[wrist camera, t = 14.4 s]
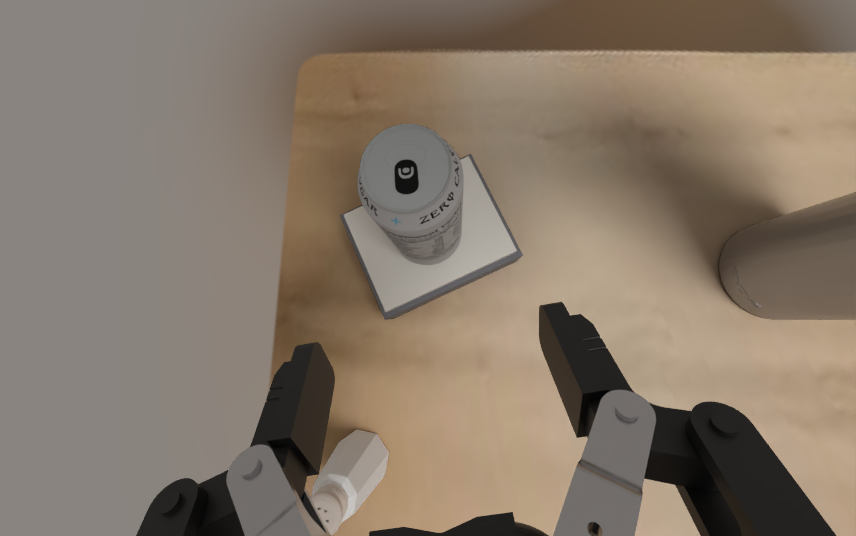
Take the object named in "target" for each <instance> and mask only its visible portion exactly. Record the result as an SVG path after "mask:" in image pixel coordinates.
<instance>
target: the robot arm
mask: <svg viewBox="0 0 856 536" xmlns="http://www.w3.org/2000/svg"><path fill="white" fill-rule="evenodd" d="M719 272H720V276H721V280H722V283H723V285H724V287H725V289H726V291H727V293H728V294H729V295H730V297H731V298H732V299H733V301H735V302H736V303H737V304H738V305H739V306H740V307H741V308H743V309H744V310H746V311H748V312H749V313H751V314H754V315H756V316H759V317H762V318H767V319H773V320H856V192H854V193H851V194H848V195H845V196H842V197H839V198H836V199H833V200H830V201H826V202H823V203H820V204H817V205H814V206H811V207H808V208H805V209H802V210H798V211H795V212H792V213H789V214H786V215H782V216H779V217H776V218H773V219H770V220H767V221H764V222H761V223H758V224H754V225H751V226H749V227H746V228H744V229H742V230H740V231H738V232H737V233H736V234H734V235H733V236H732V237H731V238H730V239H729V240H728V242H727V243H726V244H725V246H724V248H723V250H722V252H721V257H720V261H719ZM539 339H540V344H541V348H542V351H543V354H544V356H545V359H546V361H547V364H548V366H549V369H550V371H551V374H552V376H553V379H554V381H555V384H556V386H557V389H558V392H559V394H560V397H561V399H562V402H563V404H564V407H565V409H566V412H567V414H568V417H569V419H570V422H571V424H572V427H573V429H574V432H575V434H576V437H577V438H578V437H585V436H587V437H588V440H587V443H586V446H585V449H584V452H583V455H582V458H581V460H580V461H579V462H578V465H577V467H576V470H575V472H574V475H573V478H572V481H571V484H570V487H569V490H568V493H567V496H566V499H565V502H564V505H563V508H562V511H561V514H560V517H559V520H558V523H557V526H556V529H555V532H554V535H553V536H634V535H635V530H636V525H637V520H638V516H639V511H640V506H641V500H642V486H643V481H644V479H649V480H654V481H659V482H664V483H669V484H674V485H676V487H677V489H678V491H679V493H680V495H681V497H682V499H683V501H684V503H685V505H686V507H687V509H688V511H689V513H690V515H691V517H692V519H693V521H694V523H695V525H696V527H697V529H698V531H699V533H700V535H701V536H836V535H835V533H834V532H833V531H832V529H831V528H830V527H829V525H828V524H827V523H826V521H825V520H824V519H823V517H822V516H821V515H820V513H819V512H818V511H817V509H816V508H815V507H814V505H813V504H812V503H811V501H810V500H809V499H808V497H807V496H806V495H805V493H804V492H803V491H802V489H801V488H800V487H799V485H798V484H797V483H796V481H795V480H794V479H793V477H792V476H791V475H790V473H789V472H788V471H787V469H786V468H785V467H784V465H783V464H782V463H781V461H780V460H779V459H778V457H777V456H776V455H775V453H774V452H773V451H772V449H771V448H770V447H769V445H768V444H767V443H766V441H765V440H764V439H763V437H762V436H761V435H760V433H759V432H758V431H757V429H756V428H755V427H754V425H753V424H752V423H751V422H750V420H749V419H748V418H747V417H746V416H745V415H743V414H742V413H741V412H739V411H738V410H736V409H734V408H732V407H730V406H728V405H725V404H722V403H718V402H703V403H700V404H698V405H696V406H695V407H694V408H693V409H692V411H686V410H679V409H672V408H665V407H660V406H656V405H653V404H651V403H649V402H647V401H646V400H645V399H644V398H643V397H641V396H640V395H638V394H636V393H635V392H634V391H633V390H632V389H631V388H630V386H629V385H628V383H627V381H626V380H625V378H624V376H623V374H622V373H621V371H620V369H619V368H618V366H617V364H616V363H615V361H614V359H613V357H612V356H611V354H610V352H609V351H608V349H606V345H605V344H604V342H603V340H602V339H601V338H600V335H599V334H598V332H597V330H596V328H595V327H594V325H593V324H592V323H591V322H590V321H589V320H587V319H586V318H585V317H583V316H582V315H581V314H578V315H572V316H570V315H569V313H568V311H567V309H566V307H565V306H564V304H563V303H562V302H558V303H552V304H546V305H540V307H539ZM334 384H335V377H334V371H333V368H332V366H331V364H330V362H329V360H328V358H327V356H326V354H325V352H324V351H323V349H322V347H321V345H320V344H319V343H318V342H315V343H309V344H303V345H298V346H296V347H295V349H294V352H293V356H292V359H291V361H290V362H284V363H283V365H282V366H281V367H280V369H279V370H278V371H277V373H276V374H275V375H274V378H273V381H272V384H271V387H270V391H269V393H268V396H267V402H266V403H265V405H264V408H263V411H262V414H261V417H260V420H259V423H258V426H257V429H256V432H255V435H254V438H253V441H252V443H251V446H250V448H248V449H246V450H245V451H243V452H242V453H241V454H240V455H239V456H238V457H237V458H236V459H235V460H234V461H233V463H232V465H231V466H230V468H229V470H227V471H225V472H224V473H221V474H219V475H217V476H215V477H213V478H211V479H209V480H207V481H205V482H202V483H200V484H197V483H196V482H195V481H194V480H192V479H189V478H184V479H180V480H177V481H175V482H173V483H171V484H170V485H168V486H167V487H165V488H164V489H163V490H162V491H161V492H160V493H159V494H158V495H157V496H156V498H155V499H154V500H153V502H152V503H151V505H150V507H149V509H148V511H147V513H146V515H145V517H144V520H143V522H142V524H141V526H140V529H139V531H138V533H137V535H136V536H331V535H330V533H329V531H328V530H327V528H326V526H325V524H324V522H323V520H322V518H321V517H320V515H319V513H318V511H317V509H316V507H315V505H314V504H313V502H312V500H311V498H310V496H309V494H308V492H307V491H306V489H305V483H306V478H307V476H311V475H317V474H319V470H320V464H321V459H322V453H323V447H324V442H325V436H326V430H327V424H328V419H329V413H330V407H331V401H332V396H333V390H334ZM369 536H549V535H547V534H545V533H544V532H542V531H540V530H538V529H536V528H534V527H532V526H529V525H526V524H523V523H517V522H515V521H514V517H513V512H510V513H503V514H495V515H488V516H481V517H476V518H474V519H471V520H469V521H467V522H465V523H463V524H461V525H459V526H456V527H454V528H452V529H450V530H448V531H446V532H443V533H435V532H429V531H424V530H418V529H413V528H407V527H400V528H393V529H385V530H378V531H371V532H369Z"/></svg>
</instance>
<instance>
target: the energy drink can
mask: <svg viewBox="0 0 856 536" xmlns="http://www.w3.org/2000/svg"><path fill="white" fill-rule="evenodd" d="M463 182H464V174H463V169H462V164H461V162H460V159H459V157H458V155H457V153H456V152H455V151H454V149H453V148H452V147H451V146H450V145H449V144H448V143H447V142H446V141H445V140H444V139H442V138H441V137H440V136H439V135H438V134H437V133H435V132H434V131H432V130H430V129H429V128H426V127H424V126H421V125H416V124H400V125H395V126H392V127H390V128H387V129H385V130H383V131H382V132H380V133H379V134H377V135H376V136H375V137H374V138H373V139H372V140H371V141H370V143H369V144H368V145H367V147H366V149H365V151H364V153H363V155H362V158H361V162H360V168H359V172H358V179H357V188H358V194H359V197H360V200H361V203H362V205H363V207H364V208H365V210H366V211H367V213H368V214H369V215H370V216H371V218H372V219H373V220H374V221H375V222H376V224H377V225H378V226H379V227H380V228H381V230H382V231H383V232H384V233H385V234H386V235H387V237H388V238H389V239H390V240H391V241H392V243H393V244H394V245H395V246H396V247H397V249H398V250H399V251H400V252H401V253H402V254H403V255H404V256H405V257H406V258H407V259H409V260H410V261H412V262H414V263H416V264H420V265H434V264H438V263H441V262H443V261H445V260H446V259H448V258H449V257H450V256H451V255H452V254H453V253H454V252H455V251H456V249H457V248H458V245H459V243H460V240H461V234H462V209H463Z"/></svg>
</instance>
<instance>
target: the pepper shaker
mask: <svg viewBox="0 0 856 536" xmlns="http://www.w3.org/2000/svg"><path fill="white" fill-rule="evenodd" d="M388 455H389V452H388V450H387V449H386V447H385V446H384V444H383V442H382V441H381V439H380V438H379V436H378V434H376V433H371V432H366V431H362V430H357V429H356V430H355V431H354V432H352V433H351V434H350V435H348V436H347V437H345V438H344V439H343V440H341V441H340V442H339V443H338V445H337V446H336V448H335V450H334V451H333V453H332V454H331V456H330V458H329V459H328V461H327V463H326V464H325V466H324V467H323V469H322V471H321V472H320V474H319V476H318V477H317V479H316V481H315V483H314V486H313V491H312V496H311V497H310V498H311V500H312V502H313V504H314V505H315V507H316V509H317V511H318V513H319V515H320V517H321V518H322V520H323V522H324V524H325V526H326V528H327V530H328V531H329V533H330V535H332V534H334V533H335V532H336V531H337V529H338V528H339V526H340V524H341V523H342V522H343V521H345V520H346V519H347V518H349V517H350V516H352V515H353V514H354V513H355V512H356V511H357V510H358V508H359V507H360V506H361V505H362V503H363V502H364V501H365V500H366V498H367V497H368V496H369V495H370V493H371V492H372V491H373V490H374V488H375V487H376V486H377V485H378V483H379V482H380V481H381V479H382V478H383V477H384V476H385V472H386V466H387V461H388Z"/></svg>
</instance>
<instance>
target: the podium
mask: <svg viewBox="0 0 856 536" xmlns="http://www.w3.org/2000/svg"><path fill="white" fill-rule="evenodd" d="M460 162H461V164H462V169H463V174H464V182H463V209H462V234H461V240H460V243H459V245H458V248H457V249H456V251H455V252H454V253H453V254H452V255H451V256H450V257H449V258H448V259H446V260H445V261H443V262H441V263H438V264H434V265H420V264H416V263H414V262H412V261H410V260H409V259H407V258H406V257H405V256H404V255H403V254H402V253H401V252H400V251H399V250H398V249H397V247H396V246H395V245H394V244H393V243H392V241H391V240H390V239H389V238H388V237H387V235H386V234H385V233H384V232H383V231H382V230H381V228H380V227H379V226H378V225H377V224H376V222H375V221H374V220H373V219H372V218H371V216H370V215H369V214H368V213H367V211H366V210H365V208H364V207H363V205H361V206H359V207H357V208H355V209H353V210H350V211H348V212H346V213H344V214H342V215H340V217H341V219H342V221H343V224H344V226H345V228H346V231H347V233H348V235H349V238H350V240H351V242H352V245H353V247H354V249H355V251H356V254H357V256H358V258H359V261H360V263H361V265H362V268H363V270H364V272H365V275H366V277H367V279H368V282H369V284H370V286H371V289H372V291H373V293H374V296H375V298H376V300H377V303H378V305H379V307H380V309H381V312H382V314H383V316H384V319H393V318H396V317H398V316H400V315H402V314H404V313H406V312H409V311H411V310H413V309H415V308H417V307H419V306H421V305H424V304H426V303H428V302H430V301H432V300H434V299H436V298H439V297H441V296H443V295H445V294H447V293H449V292H452V291H454V290H456V289H458V288H460V287H462V286H464V285H467V284H469V283H471V282H473V281H475V280H477V279H480V278H482V277H484V276H486V275H488V274H490V273H492V272H495V271H497V270H499V269H501V268H503V267H505V266H508V265H510V264H512V263H514V262H516V261H517V260H518V259H519V258H520V257H521V256H522V253H521V251H520V249H519V247H518V245H517V243H516V241H515V239H514V237H513V235H512V233H511V232H510V230H509V228H508V226H507V224H506V222H505V220H504V218H503V216H502V214H501V212H500V210H499V208H498V206H497V204H496V202H495V200H494V198H493V196H492V194H491V193H490V191H489V189H488V187H487V185H486V183H485V181H484V179H483V177H482V175H481V173H480V171H479V169H478V167H477V165H476V163H475V161H474V159H473V157H472V155H471V154H469V155H467V156H465V157H463V158H461V159H460Z"/></svg>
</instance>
